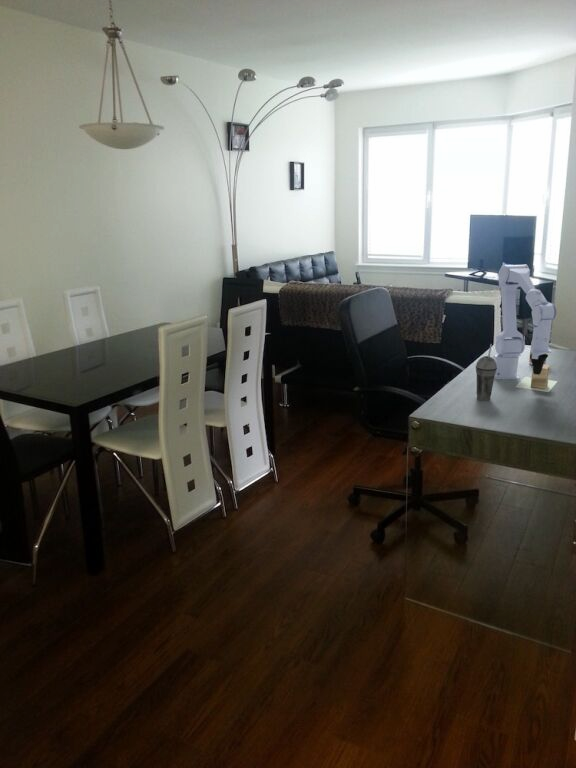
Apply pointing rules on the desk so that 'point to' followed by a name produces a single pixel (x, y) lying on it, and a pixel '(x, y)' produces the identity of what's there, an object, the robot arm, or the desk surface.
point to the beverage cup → (485, 376)
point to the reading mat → (527, 385)
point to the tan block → (540, 378)
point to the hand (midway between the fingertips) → (536, 373)
